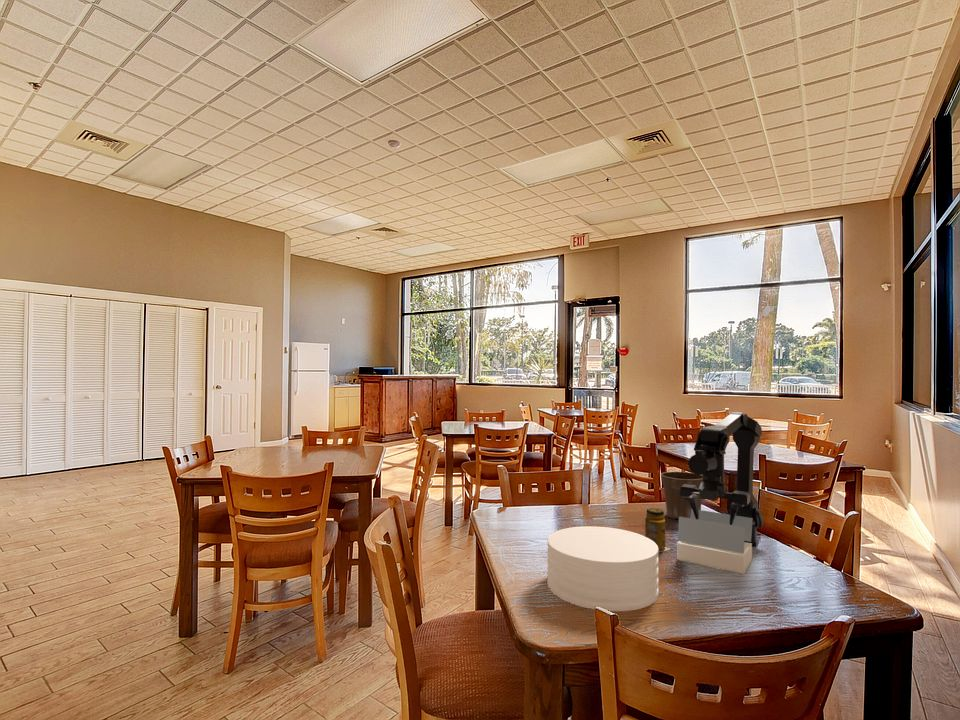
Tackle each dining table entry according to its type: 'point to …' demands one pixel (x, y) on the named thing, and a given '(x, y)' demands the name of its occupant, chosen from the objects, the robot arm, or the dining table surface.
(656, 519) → the condiment
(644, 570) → the plate stack
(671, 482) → the plant pot
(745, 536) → the flap
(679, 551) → the carton
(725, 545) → the flap
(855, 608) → the dining table surface
